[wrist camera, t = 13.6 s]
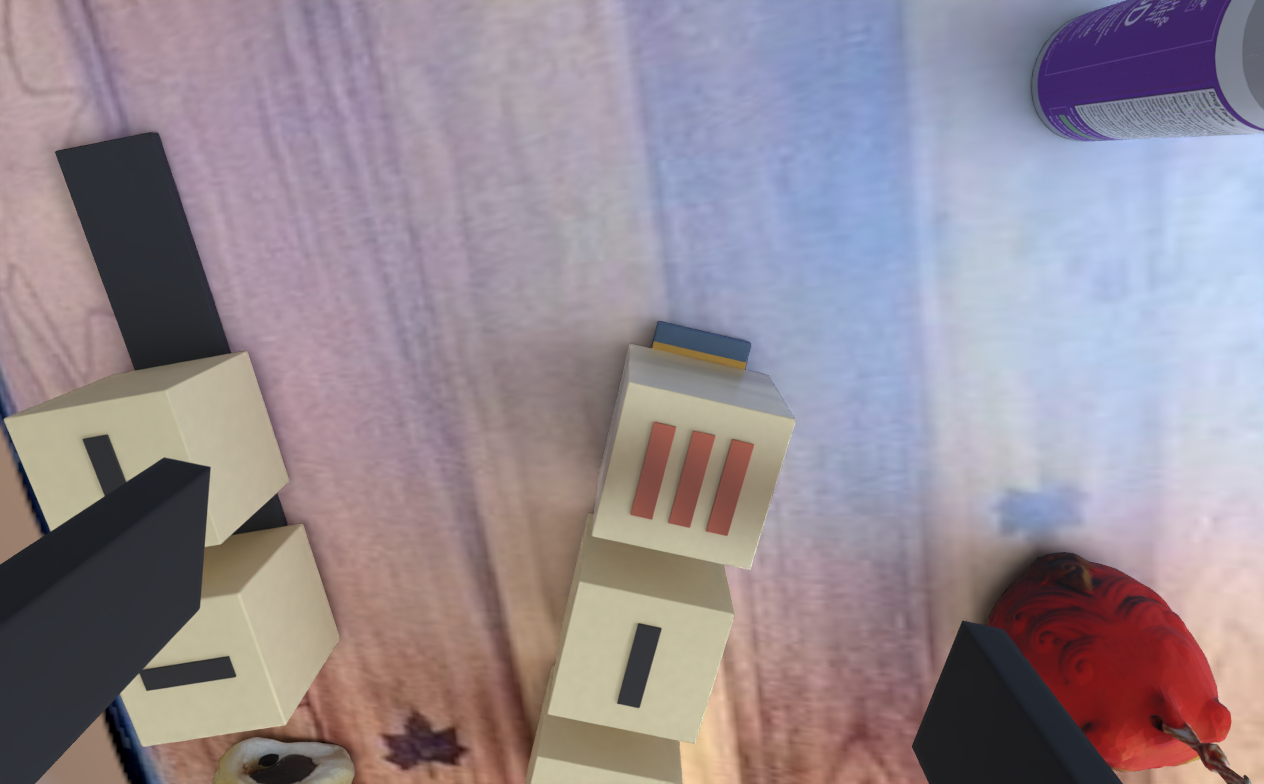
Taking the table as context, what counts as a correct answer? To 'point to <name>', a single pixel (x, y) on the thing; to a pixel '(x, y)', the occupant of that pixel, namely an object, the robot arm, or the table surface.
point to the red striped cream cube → (691, 457)
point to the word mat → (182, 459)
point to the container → (1155, 71)
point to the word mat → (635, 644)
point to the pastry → (284, 763)
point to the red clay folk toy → (1117, 664)
